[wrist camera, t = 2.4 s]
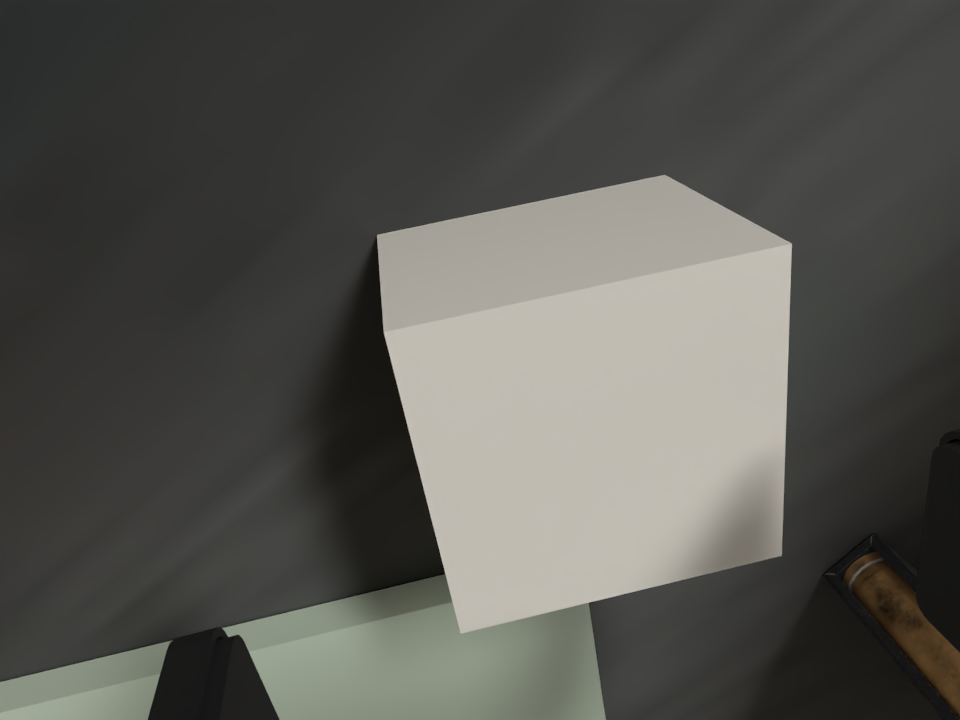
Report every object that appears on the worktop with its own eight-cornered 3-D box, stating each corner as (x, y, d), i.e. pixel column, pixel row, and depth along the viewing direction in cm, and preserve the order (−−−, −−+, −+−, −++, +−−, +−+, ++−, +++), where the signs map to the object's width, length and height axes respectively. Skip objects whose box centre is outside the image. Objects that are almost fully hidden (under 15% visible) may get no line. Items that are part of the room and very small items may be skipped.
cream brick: (662, 173, 15) (792, 243, 10) (675, 417, 18) (781, 555, 13) (376, 233, 14) (383, 332, 10) (434, 472, 17) (460, 634, 13)
